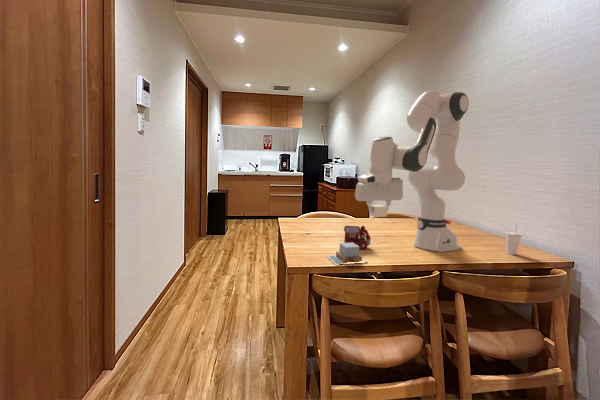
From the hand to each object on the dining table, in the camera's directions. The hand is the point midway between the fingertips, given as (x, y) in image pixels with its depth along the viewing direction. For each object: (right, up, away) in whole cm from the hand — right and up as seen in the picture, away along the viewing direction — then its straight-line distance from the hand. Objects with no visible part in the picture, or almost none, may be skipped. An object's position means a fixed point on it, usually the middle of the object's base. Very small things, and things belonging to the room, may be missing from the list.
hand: (378, 211), depth 131 cm
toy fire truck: (-5, -18, +19) cm, 27 cm away
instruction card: (-13, -20, +2) cm, 24 cm away
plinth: (-12, -20, +2) cm, 23 cm away
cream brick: (0, -2, 0) cm, 2 cm away
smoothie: (+66, -20, +17) cm, 71 cm away
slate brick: (-12, -18, +2) cm, 21 cm away
